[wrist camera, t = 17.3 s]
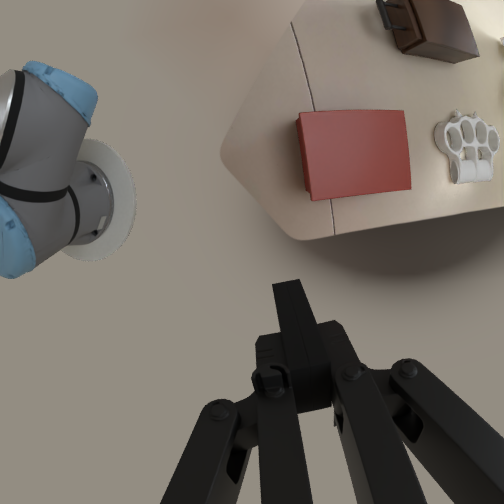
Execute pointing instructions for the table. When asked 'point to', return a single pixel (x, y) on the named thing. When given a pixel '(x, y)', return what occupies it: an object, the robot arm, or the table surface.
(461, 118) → the white brass knuckles
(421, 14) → the cabinet
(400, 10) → the drawer
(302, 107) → the table surface
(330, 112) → the lid
